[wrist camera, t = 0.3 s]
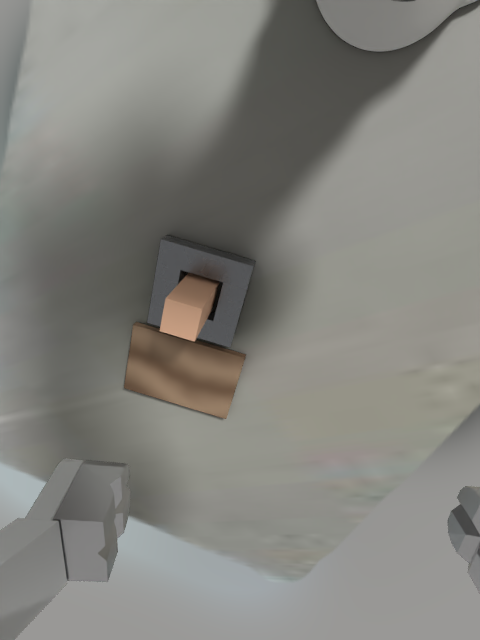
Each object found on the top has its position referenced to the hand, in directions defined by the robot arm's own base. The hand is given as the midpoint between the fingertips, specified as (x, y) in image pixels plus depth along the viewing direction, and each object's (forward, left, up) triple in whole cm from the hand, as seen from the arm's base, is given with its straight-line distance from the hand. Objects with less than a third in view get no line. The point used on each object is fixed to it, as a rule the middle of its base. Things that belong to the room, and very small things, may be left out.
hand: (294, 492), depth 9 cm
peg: (+11, -9, -38) cm, 41 cm away
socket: (+11, -9, -38) cm, 41 cm away
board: (+24, -9, -38) cm, 46 cm away
